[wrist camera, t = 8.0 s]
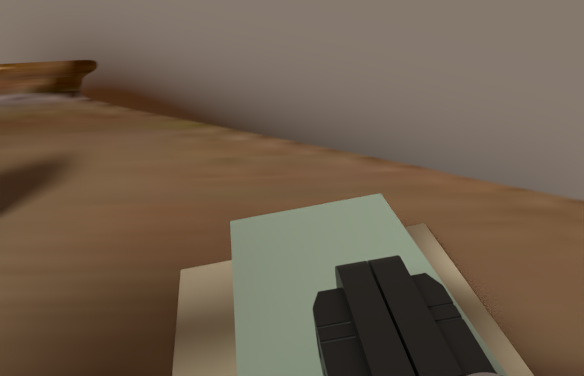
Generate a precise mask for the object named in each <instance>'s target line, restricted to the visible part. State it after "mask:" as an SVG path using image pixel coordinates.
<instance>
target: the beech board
mask: <svg viewBox="0 0 584 376" xmlns="http://www.w3.org/2000/svg"><path fill="white" fill-rule="evenodd" d="M404 228H405V229H406V231H407V232H408V233H409V235H410V236H411V238H412V239H413V241H414V242H415V243H416V245H417V246H418V248H419V249H420V251H421V252H422V253H423V255H424V256H425V258H426V259H427V261H428V262H429V263H430V265H431V266H432V268H433V269H434V271H435V272H436V274H437V275H438V276H439V278H440V279H441V281H442V282H443V284H444V285H445V286H446V288H447V289H448V291H449V292H450V294H451V295H452V296H453V298H454V299H455V301H456V302H457V304H458V305H459V306H460V308H461V309H462V311H463V312H464V314H465V315H466V316H467V318H468V319H469V321H470V322H471V324H472V325H473V327H474V328H475V329H476V331H477V332H478V334H479V335H480V337H481V338H482V339H483V341H484V342H485V344H486V345H487V347H488V348H489V349H490V351H491V352H492V354H493V355H494V357H495V358H496V359H497V361H498V362H499V364H500V365H501V367H502V368H503V370H504V371H505V372H506V374H507V375H508V376H534V375H533V374H532V372H531V371H530V369H529V368H528V367H527V365H526V364H525V362H524V361H523V360H522V358H521V357H520V356H519V354H518V353H517V351H516V350H515V349H514V347H513V346H512V344H511V343H510V342H509V340H508V339H507V337H506V336H505V335H504V333H503V332H502V330H501V329H500V328H499V326H498V325H497V324H496V322H495V321H494V319H493V318H492V317H491V315H490V314H489V312H488V311H487V310H486V308H485V307H484V305H483V304H482V303H481V301H480V300H479V298H478V297H477V296H476V294H475V293H474V292H473V290H472V289H471V287H470V286H469V285H468V283H467V282H466V280H465V279H464V278H463V276H462V275H461V273H460V272H459V271H458V269H457V268H456V267H455V265H454V264H453V262H452V261H451V260H450V258H449V257H448V255H447V254H446V253H445V251H444V250H443V248H442V247H441V246H440V244H439V243H438V241H437V240H436V239H435V237H434V236H433V235H432V233H431V232H430V230H429V229H428V228H427V226H426V225H425V223H422V224H417V225H412V226H407V227H404ZM172 376H237V361H236V339H235V317H234V295H233V273H232V260H229V261H224V262H219V263H214V264H209V265H203V266H198V267H193V268H188V269H182V270H181V274H180V286H179V298H178V310H177V322H176V334H175V346H174V358H173V370H172Z"/></svg>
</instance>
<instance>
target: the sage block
mask: <svg viewBox="0 0 584 376" xmlns="http://www.w3.org/2000/svg"><path fill="white" fill-rule="evenodd" d="M230 229H231V251H232V273H233V295H234V317H235V339H236V361H237V376H323V373H322V368H321V364H320V359H319V353H318V346H317V339H316V331H315V324H314V317H313V309H312V308H313V305H314V302H315V299H316V296H317V293H318V292H319V291H324V290H330V289H336V288H337V286H336V276H335V266H338V265H344V264H349V263H355V262H361V261H368V260H373V259H379V258H385V257H391V256H396V255H399V256H400V257H401V259H402V261H403V262H404V264H405V266H406V268H407V270H408V272H409V274H410V275H416V274H422V273H427V274H428V275H429V276H431V277H432V278H434V279H435V280H436V281H438V282H439V283H440V284H442V285H443V286H444V288H445V289H446V291H447V293H448V294H449V296H450V297H451V299H452V301H453V304H454V305H455V306H456V307H457V309H458V311H459V312H460V314H461V316H462V319H464V320H465V322H466V324H467V325H468V327H469V329H470V330H471V332H472V334H473V335H474V337H475V338H476V340H477V342H478V343H479V345H480V347H481V348H482V350H483V352H484V353H485V355H486V356H487V358H488V360H489V361H490V363H491V365H492V366H493V368H494V370H495V371H496V372H497V374H500V375H503V376H508V375H507V374H506V372H505V371H504V370H503V368H502V367H501V365H500V364H499V362H498V361H497V359H496V358H495V357H494V355H493V354H492V352H491V351H490V349H489V348H488V347H487V345H486V344H485V342H484V341H483V339H482V338H481V337H480V335H479V334H478V332H477V331H476V329H475V328H474V327H473V325H472V324H471V322H470V321H469V319H468V318H467V316H466V315H465V314H464V312H463V311H462V309H461V308H460V306H459V305H458V304H457V302H456V301H455V299H454V298H453V296H452V295H451V294H450V292H449V291H448V289H447V288H446V286H445V285H444V284H443V282H442V281H441V279H440V278H439V276H438V275H437V274H436V272H435V271H434V269H433V268H432V266H431V265H430V263H429V262H428V261H427V259H426V258H425V256H424V255H423V253H422V252H421V251H420V249H419V248H418V246H417V245H416V243H415V242H414V241H413V239H412V238H411V236H410V235H409V233H408V232H407V231H406V229H405V228H404V226H403V225H402V223H401V222H400V220H399V219H398V218H397V216H396V215H395V213H394V212H393V210H392V209H391V208H390V206H389V205H388V203H387V202H386V200H385V199H384V198H383V196H382V195H381V193H380V194H374V195H369V196H363V197H358V198H353V199H347V200H342V201H336V202H331V203H325V204H320V205H315V206H309V207H304V208H298V209H293V210H288V211H282V212H277V213H271V214H266V215H260V216H255V217H250V218H244V219H239V220H233V221H230Z"/></svg>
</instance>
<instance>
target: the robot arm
mask: <svg viewBox="0 0 584 376" xmlns="http://www.w3.org/2000/svg"><path fill="white" fill-rule="evenodd" d="M335 276H336V286H337V288H336V289H330V290H324V291H319V292H318V293H317V296H316V299H315V302H314V305H313V308H312V309H313V317H314V324H315V331H316V339H317V346H318V353H319V359H320V364H321V368H322V373H323V376H503V375H500V374H497V372H496V371H495V370H494V368H493V366H492V365H491V363H490V361H489V360H488V358H487V356H486V355H485V353H484V352H483V350H482V348H481V347H480V345H479V343H478V342H477V340H476V338H475V337H474V335H473V334H472V332H471V330H470V329H469V327H468V325H467V324H466V322H465V320H464V319H462V316H461V314H460V312H459V311H458V309H457V307H456V306H455V305H454V304H453V301H452V299H451V297H450V296H449V294H448V293H447V291H446V289H445V288H444V286H443V285H442V284H440V283H439V282H438V281H436V280H435V279H434V278H432V277H431V276H429V275H428V274H427V273H422V274H416V275H410V274H409V272H408V270H407V268H406V266H405V264H404V262H403V261H402V259H401V257H400V256H399V255H396V256H391V257H385V258H379V259H373V260H368V261H361V262H355V263H349V264H344V265H338V266H335Z"/></svg>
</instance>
